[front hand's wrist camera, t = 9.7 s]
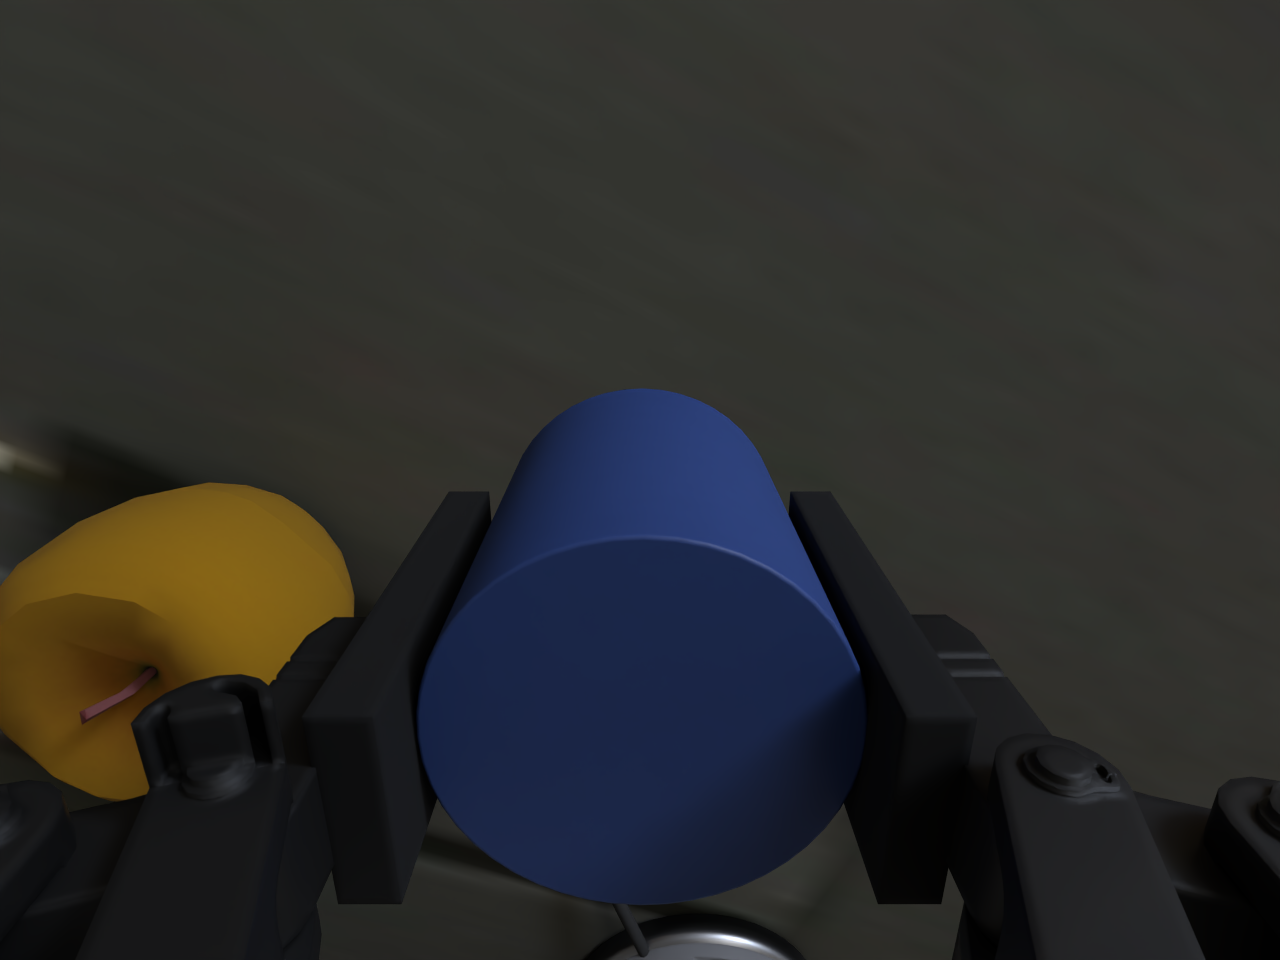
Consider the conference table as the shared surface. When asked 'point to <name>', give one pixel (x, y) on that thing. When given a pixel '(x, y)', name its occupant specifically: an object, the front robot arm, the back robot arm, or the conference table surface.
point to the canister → (641, 665)
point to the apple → (155, 619)
